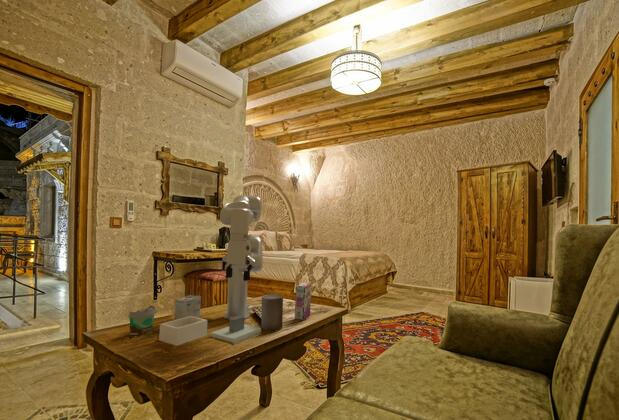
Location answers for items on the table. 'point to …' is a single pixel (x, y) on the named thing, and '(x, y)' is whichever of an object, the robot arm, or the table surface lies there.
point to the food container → (142, 321)
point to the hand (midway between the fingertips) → (237, 279)
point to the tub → (183, 330)
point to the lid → (236, 331)
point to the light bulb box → (187, 307)
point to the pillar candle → (272, 312)
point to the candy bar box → (302, 301)
